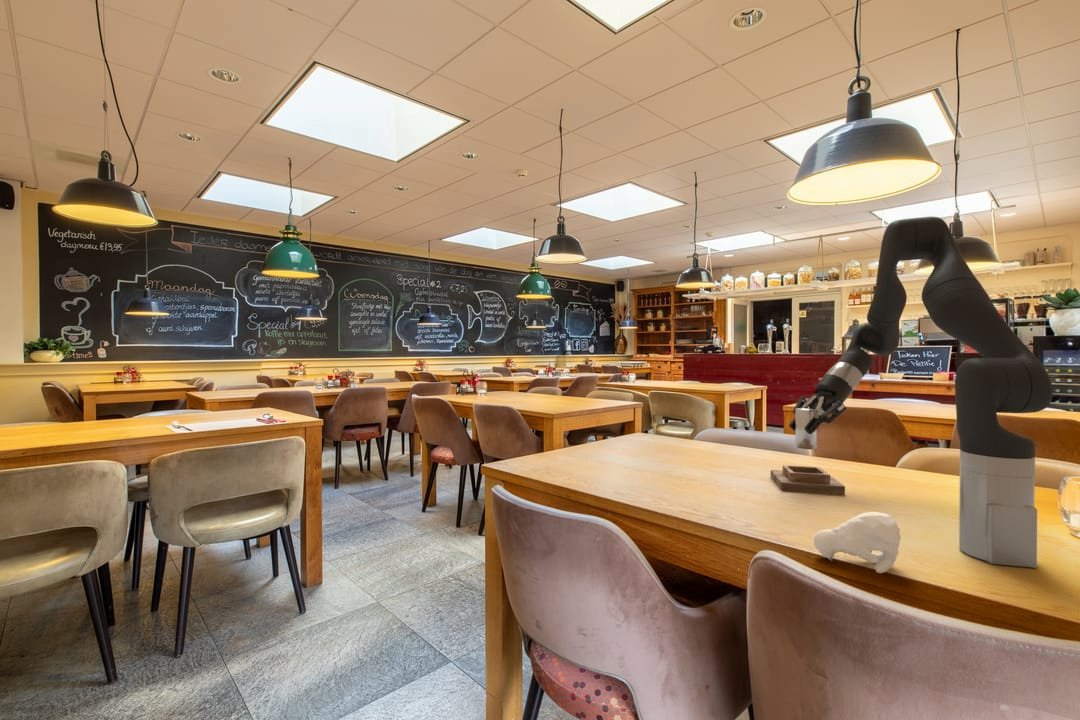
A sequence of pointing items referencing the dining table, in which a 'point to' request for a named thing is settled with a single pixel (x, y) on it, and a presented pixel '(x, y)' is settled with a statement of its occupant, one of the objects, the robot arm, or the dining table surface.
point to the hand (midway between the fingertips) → (799, 429)
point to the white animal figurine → (863, 539)
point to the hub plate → (806, 480)
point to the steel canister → (801, 436)
